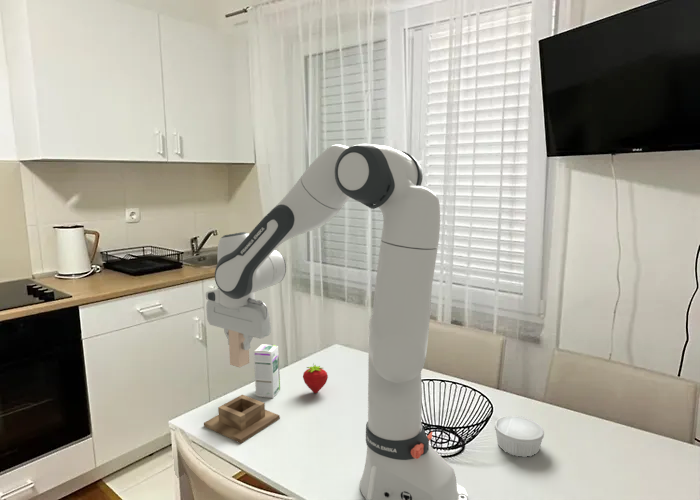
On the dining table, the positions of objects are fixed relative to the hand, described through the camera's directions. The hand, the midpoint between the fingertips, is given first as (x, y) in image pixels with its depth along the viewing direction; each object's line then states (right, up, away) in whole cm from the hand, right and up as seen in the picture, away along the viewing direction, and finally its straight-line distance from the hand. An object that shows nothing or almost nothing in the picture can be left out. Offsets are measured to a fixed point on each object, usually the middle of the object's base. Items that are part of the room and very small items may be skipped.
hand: (239, 347), depth 122 cm
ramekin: (+70, -23, -7) cm, 74 cm away
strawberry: (+18, -18, +20) cm, 33 cm away
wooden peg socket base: (0, -21, +4) cm, 21 cm away
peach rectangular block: (0, -5, +1) cm, 5 cm away
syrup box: (+4, -18, +20) cm, 27 cm away
